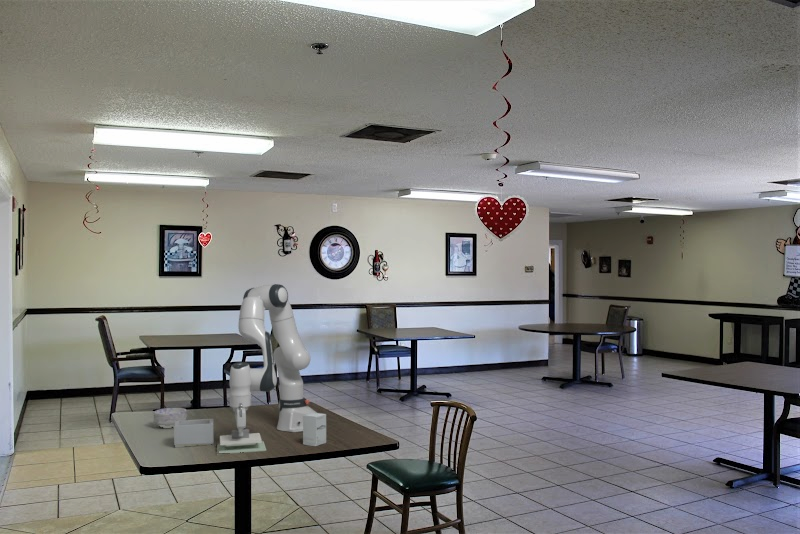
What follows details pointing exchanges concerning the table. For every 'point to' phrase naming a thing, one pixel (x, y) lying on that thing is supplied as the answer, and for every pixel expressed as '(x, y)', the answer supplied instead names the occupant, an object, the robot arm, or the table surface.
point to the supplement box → (314, 429)
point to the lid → (240, 438)
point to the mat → (242, 448)
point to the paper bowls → (169, 416)
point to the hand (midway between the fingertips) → (240, 434)
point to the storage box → (194, 432)
